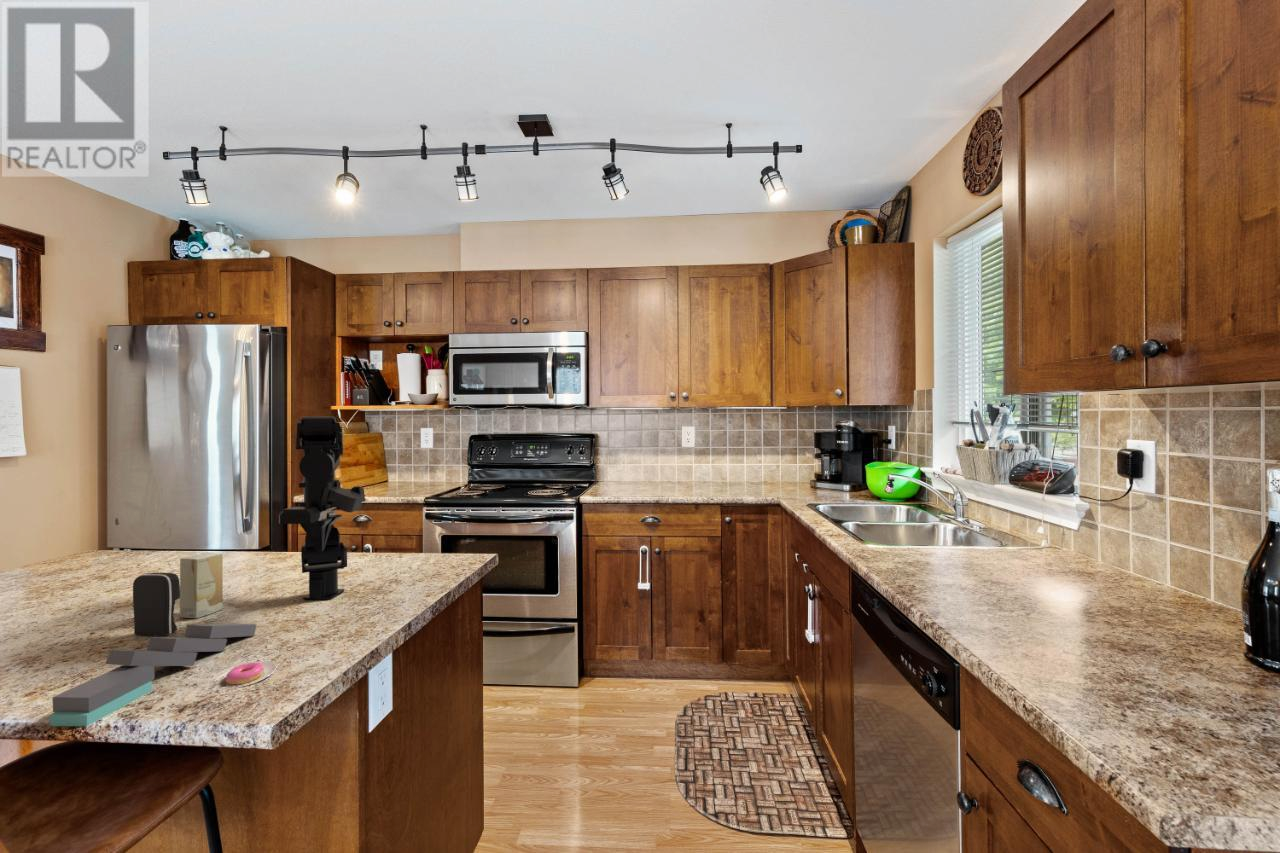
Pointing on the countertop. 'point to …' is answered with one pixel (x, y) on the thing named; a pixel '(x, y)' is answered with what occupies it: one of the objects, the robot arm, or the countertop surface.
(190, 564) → the skincare box
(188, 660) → the domino
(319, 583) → the robot arm
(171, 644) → the domino
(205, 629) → the domino
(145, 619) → the black rounded upright block
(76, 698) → the domino
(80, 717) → the domino
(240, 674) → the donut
